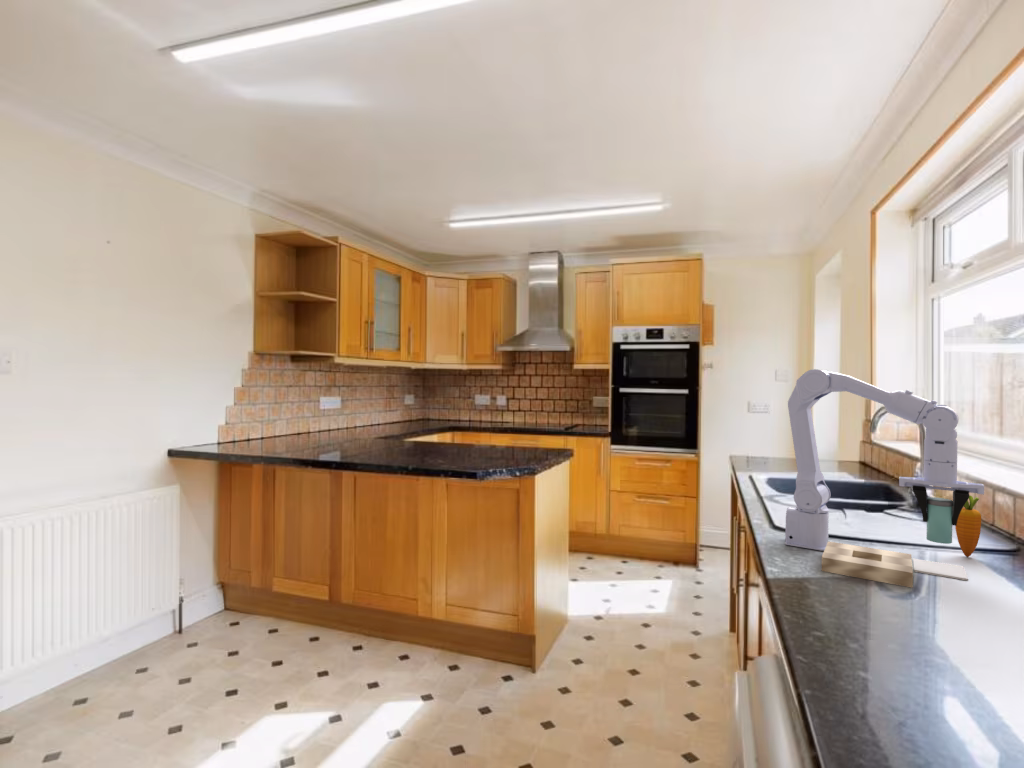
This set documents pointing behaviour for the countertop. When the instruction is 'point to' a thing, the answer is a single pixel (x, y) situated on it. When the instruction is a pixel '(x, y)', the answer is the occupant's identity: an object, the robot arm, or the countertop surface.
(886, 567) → the tan board with hole
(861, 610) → the countertop surface
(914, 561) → the mat
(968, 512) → the carrot
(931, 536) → the plug
